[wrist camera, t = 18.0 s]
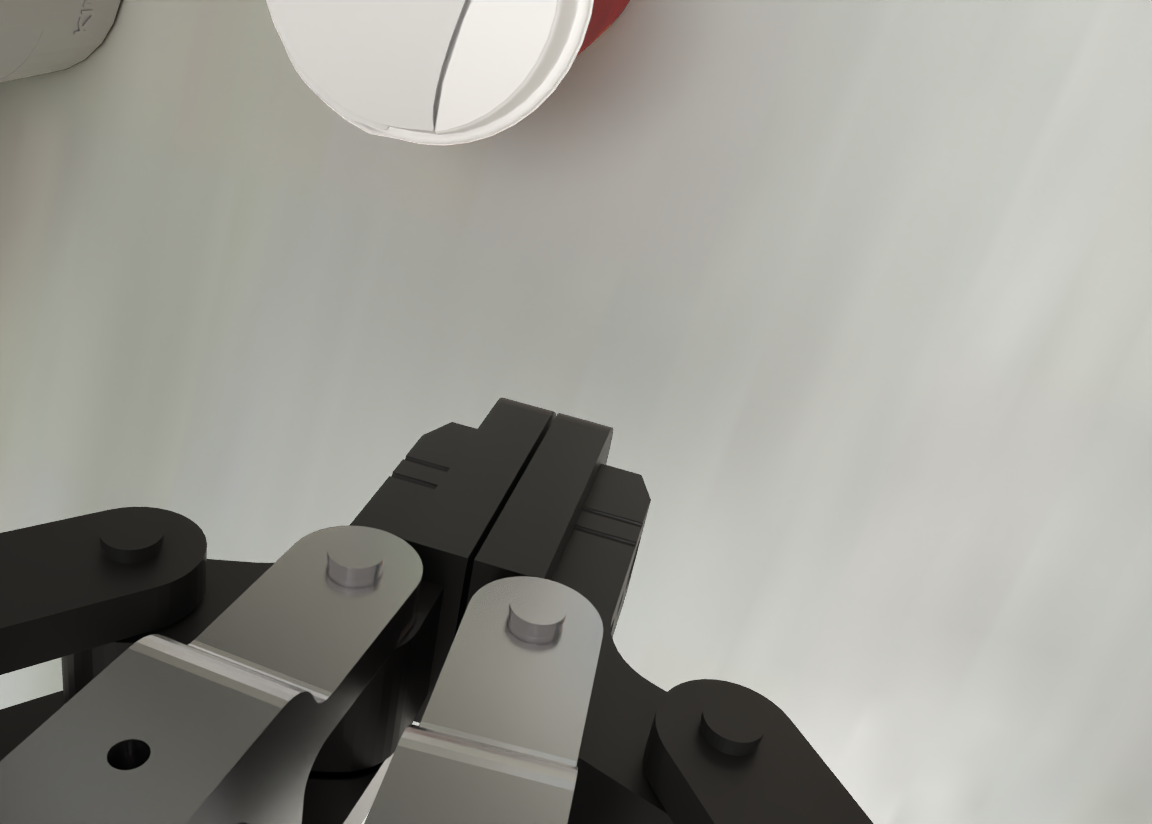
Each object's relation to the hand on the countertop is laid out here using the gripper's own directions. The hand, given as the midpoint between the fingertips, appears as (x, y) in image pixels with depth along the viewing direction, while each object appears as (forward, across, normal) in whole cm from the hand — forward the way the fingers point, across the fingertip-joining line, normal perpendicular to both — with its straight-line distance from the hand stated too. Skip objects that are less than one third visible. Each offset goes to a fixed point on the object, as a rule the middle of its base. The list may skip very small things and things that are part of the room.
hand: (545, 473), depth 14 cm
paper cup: (+25, +7, -4) cm, 26 cm away
